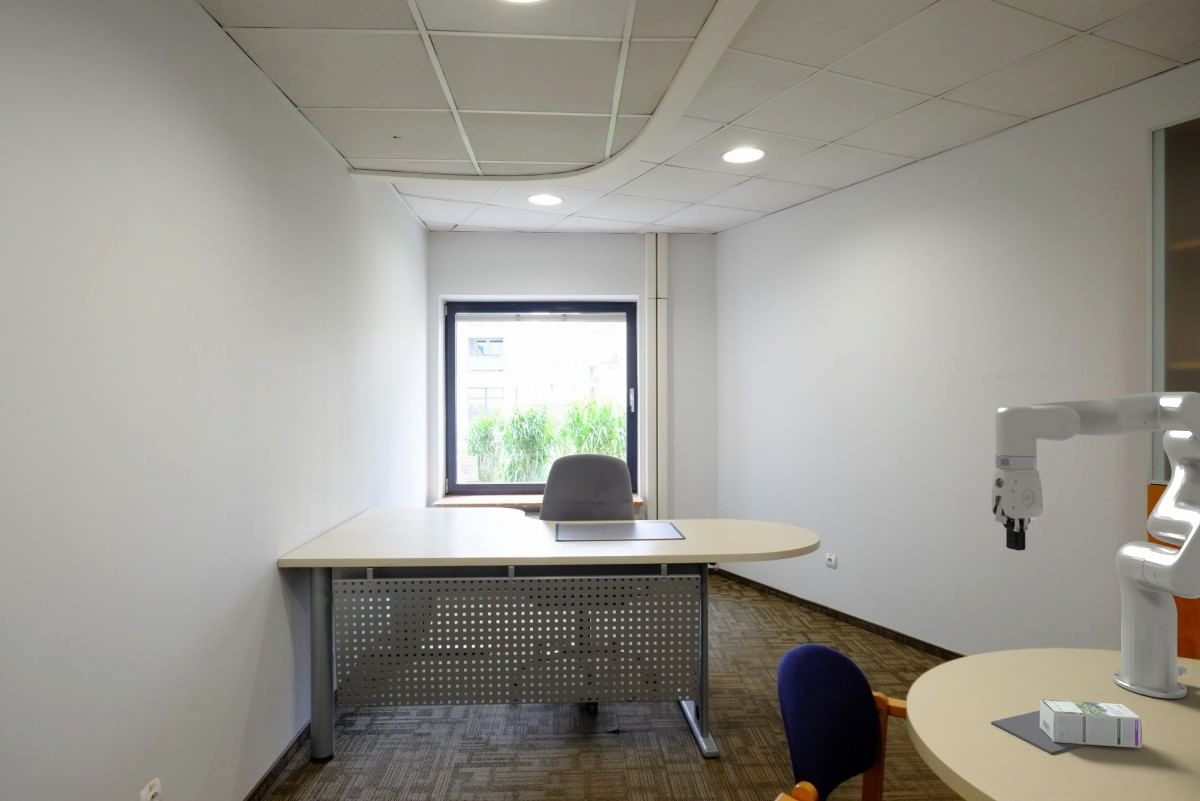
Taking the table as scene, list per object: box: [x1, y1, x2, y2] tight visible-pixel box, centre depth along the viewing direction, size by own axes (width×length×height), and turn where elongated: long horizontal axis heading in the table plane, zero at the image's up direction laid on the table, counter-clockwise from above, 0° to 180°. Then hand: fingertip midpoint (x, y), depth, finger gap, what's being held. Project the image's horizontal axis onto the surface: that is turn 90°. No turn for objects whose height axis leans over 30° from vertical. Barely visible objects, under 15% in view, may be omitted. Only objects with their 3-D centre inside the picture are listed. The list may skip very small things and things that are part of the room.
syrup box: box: [1039, 698, 1143, 749], centre depth 124 cm, size 6×6×14 cm
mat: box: [990, 709, 1088, 755], centre depth 128 cm, size 18×12×1 cm, turn 110°
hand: (1015, 548), depth 144 cm, fingers closed
